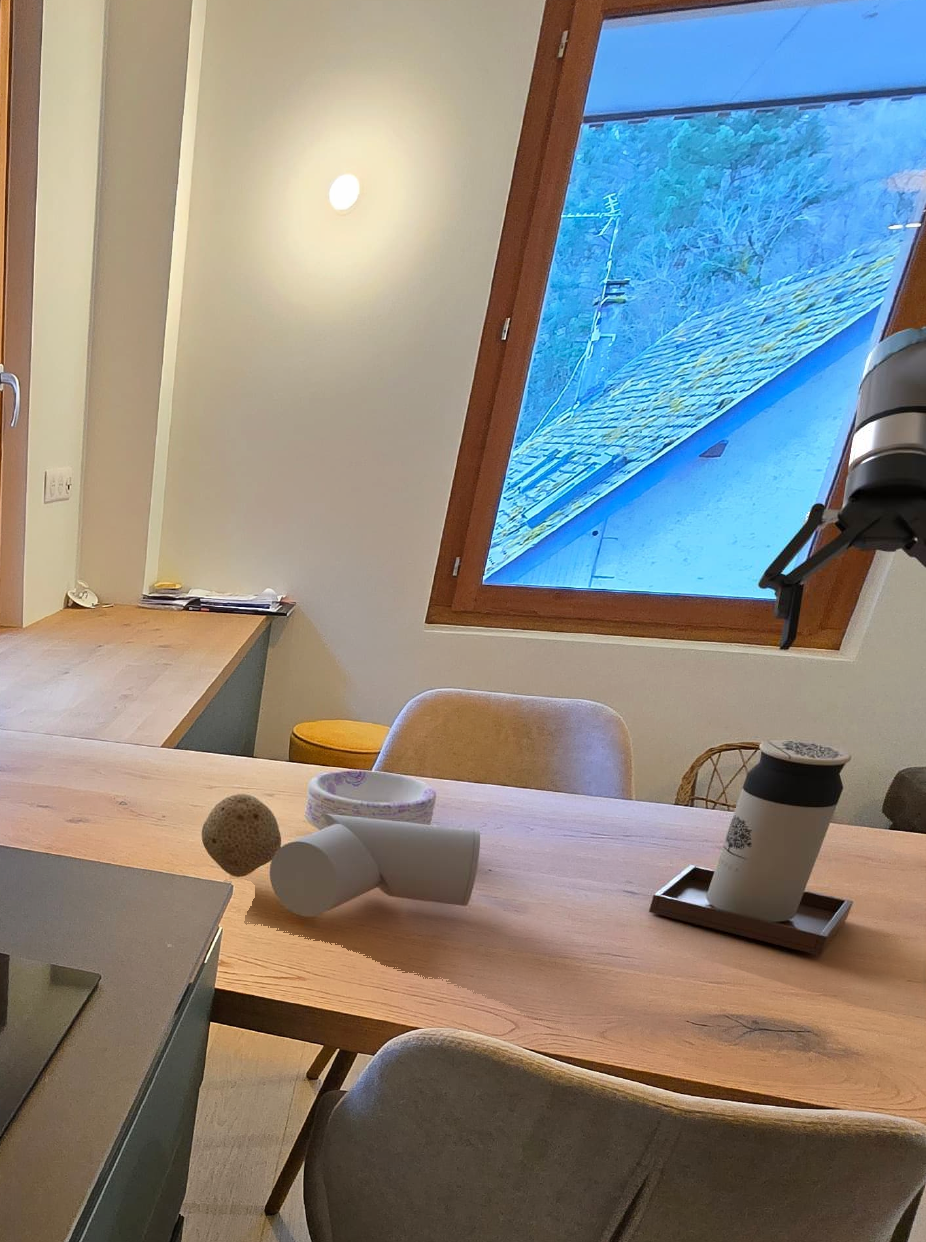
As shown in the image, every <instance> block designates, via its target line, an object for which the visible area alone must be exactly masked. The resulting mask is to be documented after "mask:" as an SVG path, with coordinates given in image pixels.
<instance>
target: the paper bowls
mask: <svg viewBox="0 0 926 1242" xmlns="http://www.w3.org/2000/svg"><path fill="white" fill-rule="evenodd" d="M436 800H437V793H436V791H435V789H434V788H433V787H432V786H431V785H429V784H428V783H427V782H424V781H422V780H420V779H417V778H414V777H410V776H407V775H403V774H398V773H393V772H386V771H381V770H380V771H379V770H366V769H346V770H345V769H344V770H334V771H328V772H324V773H320V774H318V775H315V776H313V777H312V778H311V779H310V781H309V782H308V790H307V793H306V801H305V809H304V818H305V819H306V822H307V823H309V825H311V826H312V827H314V828H316V829H317V830H318V831H319V830H321V829H324V828H326V827H329V826H328V824H327V822H326V820H325V817H324V814H332V815H342V816H351V817H360V818H370V819H379V820H388V821H398V822H407V823H416V824H426V825H432V821H433V816H434V810H435V805H436Z"/></svg>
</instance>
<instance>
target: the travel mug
mask: <svg viewBox="0 0 926 1242" xmlns="http://www.w3.org/2000/svg"><path fill="white" fill-rule="evenodd" d="M758 748H759V750H760V757H759V761H758V763H756V764H755V765H754V766H753V767H752V768H751V769H750V770H749V771H748V772H747V774H746V777H745V779H744V781H743V785H742V789H741V791H740V794H739V797H738V800H737V803H736V806H735V809H734V812H733V815H732V818H731V822H730V824H729V827H728V830H727V834H726V835H725V839H724V843H723V845H722V848H721V851H720V854H719V857H718V860H717V862H716V866H715V869H714V870H715V872H714V875H713V878H712V881H711V884H710V887H709V890H708V893H707V896H706V899H707V901H708V902H709V903H710V904H711V905H713V906H714V907H715V908H717V909H721V910H726V911H730V912H734V913H738V914H742V915H746V916H750V917H754V918H758V919H763V920H767V921H771V922H779V921H787V920H790V919H792V918H794V917H795V914H796V912H797V909H798V906H799V904H800V901H801V898H802V896H803V893H804V891H806V888H807V885H808V883H809V880H810V877H811V875H812V872H813V869H814V866H815V864H816V861H817V858H818V856H819V853H820V851H821V848H822V846H823V842H824V841H825V838H826V835H827V832H828V829H829V827H830V824H831V821H832V819H833V817H834V814H835V811H836V809H837V806H838V803H839V800H840V798H841V795H842V793H843V790H844V785H843V781H842V777H841V775H840V774H841V772H842V770H843V769H844V767H845V765H847V763H850V761H851V760H852V755H851V754H850V753H849V752H847V751H846V750H844V749H841V748H839V747H836V746H832V745H828V744H823V743H819V742H814V741H807V740H806V741H805V740H797V739H771V740H766V741H763V742H761V743H760V744H759V747H758Z"/></svg>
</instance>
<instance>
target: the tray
mask: <svg viewBox="0 0 926 1242" xmlns="http://www.w3.org/2000/svg"><path fill="white" fill-rule="evenodd" d="M714 872H715V869H710V868H707V867H702V866H697V865H692V864H690V865H688V866H687V867H686V868H685V869H684V870H682V871H681V872H680V873H678V875H676V876H675V877H674V878H672V879H671V880H669V882H668V883H666V884H665V885H664V886H663V887H661V888H660V889H659V890H658V891H657V892H656V893H654V894H653V896H652V899H651V902H650V906H649V910H648V913H651V914H655V915H658V916H662V917H666V918H671V919H675V920H678V921H682V922H687V923H690V924H694V925H698V926H703V927H706V928H710V929H714V930H717V931H722V932H726V933H730V934H734V935H738V936H741V937H746V938H749V939H753V940H757V941H761V942H765V943H769V944H772V945H777V946H780V947H784V948H789V949H792V950H796V951H800V952H804V953H808V954H812V955H815V956H821V955H822V954H823V952H824V951H825V949H826V948H827V947H828V946H829V944H830V943H831V941H832V940H833V939H834V937H835V936H836V934H838V931H839V930H840V929H841V927H842V926H843V924H844V923H845V922H846V921H847V919H848V917H849V914H850V911H851V909H852V906H853V904H854V901H853V900H851V899H845V898H841V897H837V896H833V895H827V894H824V893H820V892H819V893H818V892H815V891H811V890H805V891H804V893H803V896H802V898H801V901H800V904H799V906H798V909H797V912H796V914H795V917H794V918H792V919H790V920H787V921H779V922H771V921H767V920H763V919H758V918H754V917H750V916H746V915H742V914H738V913H734V912H730V911H726V910H721V909H717V908H715V907H714V906H713V905H711V904H710V903H709V902H708V901H707V899H706V896H707V893H708V890H709V887H710V884H711V881H712V878H713V875H714Z"/></svg>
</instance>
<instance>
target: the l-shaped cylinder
mask: <svg viewBox="0 0 926 1242" xmlns="http://www.w3.org/2000/svg"><path fill="white" fill-rule="evenodd" d="M324 817H325V820H326V822H327V824H328V826H329V827H326V828H324V829H321V830H319V829H318V830H316V831H314V832H312V833H309V834H306V835H304V836H302V837H299V838H297V839H295V840H293V841H290V842H287V843H285V844H284V845H281V848H280V849H278V851H277V852H276V853H275V855H274V856H273V859H272V860H271V861H270V867H269V879H270V884H271V887H272V891H273V893H274V894H275V896H276V898H277V899H278V901H279V902H280V903H281V904H282V905H283V906H284V907H285V908H286V909H288V910H289V911H290V912H292V913H294V914H296V915H298V916H302V917H307V918H308V917H310V918H311V917H313V918H314V917H318V916H321V915H323V914H326V913H327V912H329V911H331V910H333V909H335V908H337V907H339V906H342V905H343V904H345V903H347V902H349V901H351V900H354V899H356V898H357V897H360V896H362V895H364V894H366V893H368V892H370V891H372V890H374V889H375V888H376V889H377V888H378V890H380V891H381V892H382V893H384V894H386V896H388V897H392V898H400V899H409V900H414V901H416V900H417V901H423V902H431V903H439V904H445V905H446V904H447V905H454V906H455V905H456V906H460V907H461V906H462V907H467V906H468V904H469V902H470V900H471V896H472V893H473V889H474V885H475V881H476V876H477V872H478V865H479V858H480V847H481V832H480V830H479V829H472V828H463V827H453V826H443V825H435V824H431V825H426V824H416V823H407V822H398V821H388V820H379V819H370V818H360V817H351V816H342V815H332V814H324Z"/></svg>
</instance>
